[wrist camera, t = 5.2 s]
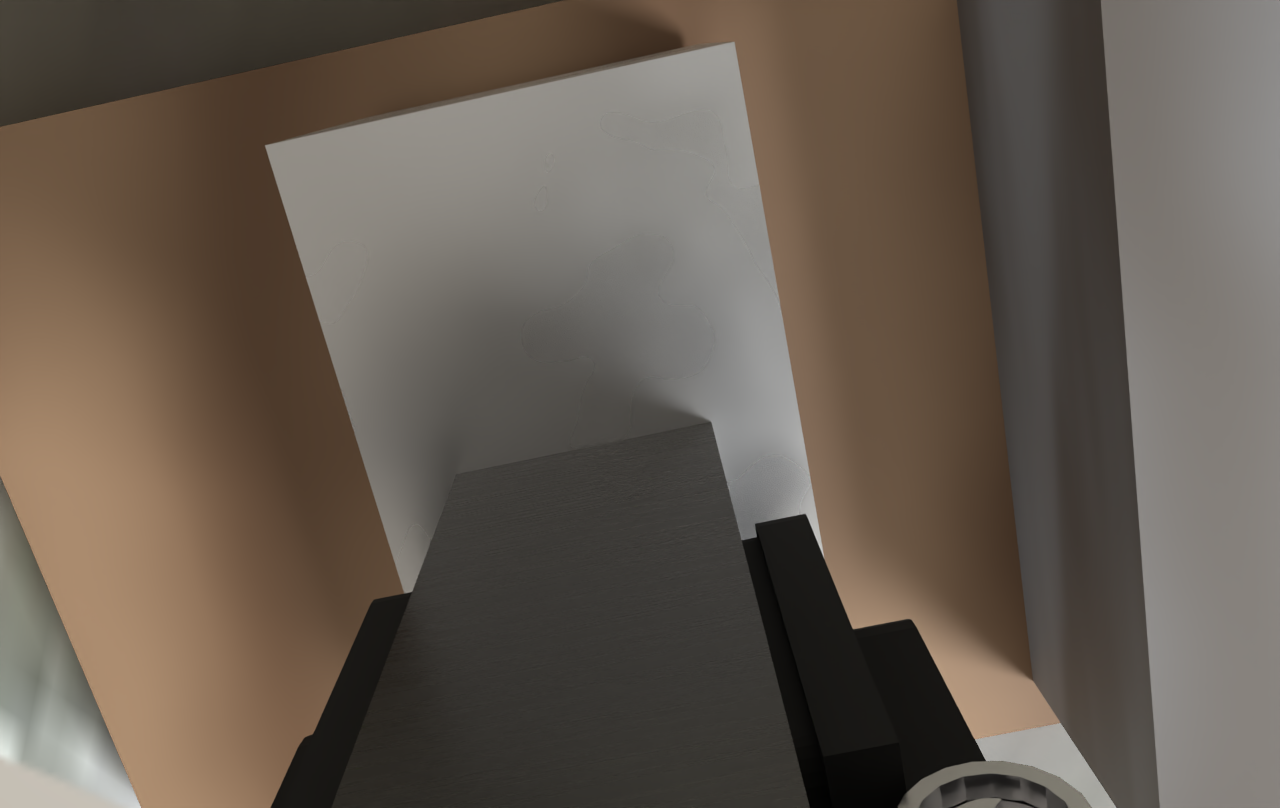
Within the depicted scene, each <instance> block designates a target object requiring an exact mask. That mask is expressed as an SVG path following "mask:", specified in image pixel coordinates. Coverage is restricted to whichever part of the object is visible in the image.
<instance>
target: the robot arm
mask: <svg viewBox="0 0 1280 808" xmlns="http://www.w3.org/2000/svg"><path fill="white" fill-rule="evenodd" d="M755 530H756V536H757V537H755V538H750V539H745V540H742V544H743V548H744V552H745V556H746V560H747V563H748V567H749V571H750V575H751V579H752V583H753V587H754V591H755V595H756V599H757V603H758V607H759V610H760V614H761V618H762V622H763V626H764V630H765V634H766V638H767V642H768V646H769V650H770V654H771V657H772V661H773V665H774V669H775V673H776V677H777V681H778V685H779V689H780V693H781V697H782V701H783V704H784V708H785V712H786V716H787V720H788V724H789V728H790V732H791V736H792V740H793V744H794V748H795V751H796V755H797V759H798V763H799V767H800V771H801V775H802V779H803V783H804V787H805V791H806V794H807V798H808V802H809V806H810V808H1092V807H1091V806H1090V804H1089V803H1088V802H1087V800H1086V799H1085V797H1084V796H1083V795H1082V793H1080V792H1079V791H1078V790H1076V789H1075V788H1073V787H1072V786H1071V785H1069V784H1068V783H1067V782H1065V781H1064V780H1063V779H1061V778H1060V777H1057V776H1055V775H1053V774H1050V773H1048V772H1045V771H1043V770H1040V769H1038V768H1035V767H1033V766H1028V765H1022V764H1016V763H1011V762H1005V761H986V760H985V758H984V756H983V755H982V753H981V751H980V749H979V747H978V745H977V743H976V741H975V739H974V737H973V735H972V733H971V731H970V729H969V727H968V726H967V724H966V722H965V720H964V718H963V716H962V714H961V712H960V710H959V708H958V706H957V704H956V702H955V700H954V698H953V697H952V695H951V693H950V691H949V689H948V687H947V685H946V683H945V681H944V679H943V677H942V675H941V673H940V671H939V670H938V668H937V666H936V664H935V662H934V660H933V658H932V656H931V654H930V652H929V650H928V648H927V646H926V644H925V642H924V641H923V639H922V637H921V635H920V633H919V631H918V629H917V627H916V626H915V624H914V622H913V621H912V620H911V619H904V620H899V621H894V622H889V623H884V624H878V625H873V626H868V627H863V628H858V629H853V628H852V626H851V623H850V621H849V618H848V616H847V613H846V611H845V609H844V606H843V604H842V601H841V599H840V596H839V594H838V591H837V589H836V586H835V584H834V581H833V579H832V576H831V574H830V572H829V569H828V567H827V564H826V562H825V559H824V557H823V554H822V552H821V549H820V547H819V544H818V542H817V540H816V537H815V535H814V532H813V530H812V527H811V525H810V522H809V520H808V517H807V515H806V514H801V515H796V516H791V517H786V518H781V519H776V520H771V521H766V522H761V523H756V524H755ZM411 594H412V592H409V593H404V594H399V595H394V596H389V597H384V598H379V599H374V600H373V601H372V603H371V604H370V606H369V609H368V611H367V613H366V615H365V618H364V620H363V622H362V625H361V627H360V629H359V631H358V634H357V636H356V638H355V640H354V643H353V645H352V647H351V649H350V652H349V654H348V656H347V658H346V661H345V663H344V665H343V668H342V670H341V672H340V674H339V677H338V679H337V681H336V683H335V686H334V688H333V690H332V692H331V695H330V697H329V699H328V702H327V704H326V706H325V708H324V711H323V713H322V715H321V717H320V720H319V722H318V724H317V726H316V729H315V731H314V733H313V734H312V735H309V736H307V737H305V738H304V739H303V740H302V742H301V743H300V745H299V746H298V748H297V751H296V753H295V755H294V757H293V759H292V762H291V764H290V766H289V768H288V770H287V773H286V775H285V777H284V779H283V781H282V784H281V786H280V788H279V790H278V792H277V794H276V797H275V799H274V801H273V803H272V805H271V808H331V807H332V804H333V801H334V799H335V796H336V793H337V791H338V788H339V785H340V783H341V780H342V777H343V775H344V772H345V769H346V767H347V764H348V761H349V759H350V756H351V753H352V751H353V748H354V746H355V743H356V740H357V738H358V735H359V732H360V730H361V727H362V724H363V722H364V719H365V716H366V714H367V711H368V708H369V706H370V703H371V700H372V698H373V695H374V692H375V690H376V687H377V684H378V682H379V679H380V676H381V674H382V671H383V668H384V666H385V663H386V660H387V658H388V655H389V652H390V650H391V647H392V644H393V642H394V639H395V636H396V634H397V631H398V628H399V626H400V623H401V620H402V618H403V615H404V612H405V610H406V607H407V604H408V602H409V599H410V596H411Z"/></svg>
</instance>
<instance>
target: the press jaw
mask: <svg viewBox="0 0 1280 808" xmlns="http://www.w3.org/2000/svg"><path fill="white" fill-rule="evenodd" d="M265 147H266V151H267V154H268V157H269V160H270V163H271V167H272V170H273V173H274V176H275V180H276V183H277V186H278V189H279V192H280V196H281V199H282V202H283V205H284V208H285V212H286V215H287V218H288V221H289V225H290V228H291V231H292V234H293V237H294V241H295V244H296V247H297V250H298V253H299V257H300V260H301V263H302V266H303V270H304V273H305V276H306V279H307V282H308V286H309V289H310V292H311V295H312V298H313V302H314V305H315V308H316V311H317V315H318V318H319V321H320V324H321V327H322V331H323V334H324V337H325V340H326V343H327V347H328V350H329V353H330V356H331V360H332V363H333V366H334V369H335V372H336V376H337V379H338V382H339V385H340V388H341V392H342V395H343V398H344V401H345V404H346V408H347V411H348V414H349V417H350V421H351V424H352V427H353V430H354V433H355V437H356V440H357V443H358V446H359V449H360V453H361V456H362V459H363V462H364V466H365V469H366V472H367V475H368V478H369V482H370V485H371V488H372V491H373V494H374V498H375V501H376V504H377V507H378V511H379V514H380V517H381V520H382V523H383V527H384V530H385V533H386V536H387V539H388V543H389V546H390V549H391V552H392V556H393V559H394V562H395V565H396V568H397V572H398V575H399V578H400V581H401V584H402V588H403V591H404V593H409V592H412V594H411V596H410V599H409V602H408V604H407V607H406V610H405V612H404V615H403V618H402V620H401V623H400V626H399V628H398V631H397V634H396V636H395V639H394V642H393V644H392V647H391V650H390V652H389V655H388V658H387V660H386V663H385V666H384V668H383V671H382V674H381V676H380V679H379V682H378V684H377V687H376V690H375V692H374V695H373V698H372V700H371V703H370V706H369V708H368V711H367V714H366V716H365V719H364V722H363V724H362V727H361V730H360V732H359V735H358V738H357V740H356V743H355V746H354V748H353V751H352V753H351V756H350V759H349V761H348V764H347V767H346V769H345V772H344V775H343V777H342V780H341V783H340V785H339V788H338V791H337V793H336V796H335V799H334V801H333V804H332V807H331V808H810V806H809V802H808V798H807V794H806V791H805V787H804V783H803V779H802V775H801V771H800V767H799V763H798V759H797V755H796V751H795V748H794V744H793V740H792V736H791V732H790V728H789V724H788V720H787V716H786V712H785V708H784V704H783V701H782V697H781V693H780V689H779V685H778V681H777V677H776V673H775V669H774V665H773V661H772V657H771V654H770V650H769V646H768V642H767V638H766V634H765V630H764V626H763V622H762V618H761V614H760V610H759V607H758V603H757V599H756V595H755V591H754V587H753V583H752V579H751V575H750V571H749V567H748V563H747V560H746V556H745V552H744V548H743V544H742V540H745V539H750V538H755V537H757V536H756V530H755V524H756V523H761V522H766V521H771V520H776V519H781V518H786V517H791V516H796V515H801V514H806V515H807V517H808V520H809V522H810V525H811V527H812V530H813V532H814V535H815V537H816V540H817V542H818V544H819V547H820V549H821V552H822V554H823V557H824V553H823V547H822V542H821V536H820V530H819V524H818V519H817V513H816V507H815V502H814V496H813V490H812V484H811V479H810V473H809V467H808V461H807V456H806V450H805V444H804V438H803V433H802V427H801V421H800V415H799V410H798V404H797V398H796V392H795V387H794V381H793V375H792V369H791V364H790V358H789V352H788V346H787V341H786V335H785V329H784V323H783V318H782V312H781V306H780V301H779V295H778V289H777V283H776V278H775V272H774V266H773V260H772V255H771V249H770V243H769V237H768V232H767V226H766V220H765V214H764V209H763V203H762V197H761V191H760V186H759V180H758V174H757V168H756V163H755V157H754V151H753V145H752V140H751V134H750V128H749V122H748V117H747V111H746V105H745V100H744V94H743V88H742V82H741V77H740V71H739V65H738V59H737V54H736V48H735V42H720V43H704V44H696V45H691V46H687V47H682V48H678V49H673V50H669V51H664V52H660V53H655V54H651V55H646V56H642V57H637V58H633V59H628V60H623V61H619V62H614V63H610V64H605V65H601V66H596V67H592V68H587V69H583V70H578V71H574V72H569V73H565V74H560V75H556V76H551V77H547V78H542V79H538V80H533V81H529V82H524V83H520V84H515V85H511V86H506V87H501V88H497V89H492V90H488V91H483V92H479V93H474V94H470V95H465V96H461V97H456V98H452V99H447V100H443V101H438V102H434V103H429V104H425V105H420V106H416V107H411V108H407V109H402V110H398V111H393V112H389V113H384V114H379V115H375V116H370V117H366V118H363V119H359V120H355V121H352V122H348V123H345V124H341V125H337V126H334V127H330V128H326V129H323V130H319V131H316V132H312V133H308V134H305V135H301V136H297V137H294V138H290V139H287V140H283V141H279V142H276V143H272V144H268V145H265Z"/></svg>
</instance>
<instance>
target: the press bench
mask: <svg viewBox="0 0 1280 808" xmlns="http://www.w3.org/2000/svg"><path fill="white" fill-rule="evenodd" d="M720 42H735V48H736V54H737V59H738V65H739V71H740V77H741V82H742V88H743V94H744V100H745V105H746V111H747V117H748V122H749V128H750V134H751V140H752V145H753V151H754V157H755V163H756V168H757V174H758V180H759V186H760V191H761V197H762V203H763V209H764V214H765V220H766V226H767V232H768V237H769V243H770V249H771V255H772V260H773V266H774V272H775V278H776V283H777V289H778V295H779V301H780V306H781V312H782V318H783V323H784V329H785V335H786V341H787V346H788V352H789V358H790V364H791V369H792V375H793V381H794V387H795V392H796V398H797V404H798V410H799V415H800V421H801V427H802V433H803V438H804V444H805V450H806V456H807V461H808V467H809V473H810V479H811V484H812V490H813V496H814V502H815V507H816V513H817V519H818V524H819V530H820V536H821V542H822V547H823V553H824V559H825V562H826V564H827V567H828V569H829V572H830V574H831V576H832V579H833V581H834V584H835V586H836V589H837V591H838V594H839V596H840V599H841V601H842V604H843V606H844V609H845V611H846V613H847V616H848V618H849V621H850V623H851V626H852V628H853V629H858V628H863V627H868V626H873V625H878V624H884V623H889V622H894V621H899V620H904V619H911V620H912V621H913V622H914V624H915V626H916V627H917V629H918V631H919V633H920V635H921V637H922V639H923V641H924V642H925V644H926V646H927V648H928V650H929V652H930V654H931V656H932V658H933V660H934V662H935V664H936V666H937V668H938V670H939V671H940V673H941V675H942V677H943V679H944V681H945V683H946V685H947V687H948V689H949V691H950V693H951V695H952V697H953V698H954V700H955V702H956V704H957V706H958V708H959V710H960V712H961V714H962V716H963V718H964V720H965V722H966V724H967V726H968V727H969V729H970V731H971V733H972V735H973V737H974V739H979V738H984V737H989V736H994V735H1000V734H1005V733H1010V732H1015V731H1021V730H1026V729H1031V728H1036V727H1042V726H1047V725H1052V724H1057V723H1061V724H1062V725H1063V727H1064V729H1065V730H1066V732H1067V733H1068V735H1069V736H1070V738H1071V739H1072V741H1073V742H1074V744H1075V745H1076V747H1077V748H1078V750H1079V751H1080V753H1081V754H1082V756H1083V757H1084V759H1085V760H1086V762H1087V763H1088V765H1089V766H1090V768H1091V769H1092V771H1093V772H1094V774H1095V776H1096V777H1097V779H1098V780H1099V782H1100V783H1101V785H1102V786H1103V788H1104V789H1105V791H1106V792H1107V794H1108V795H1109V797H1110V798H1111V800H1112V801H1113V803H1114V804H1115V806H1116V807H1117V808H1280V0H563V1H559V2H554V3H550V4H545V5H541V6H536V7H532V8H527V9H523V10H519V11H514V12H510V13H505V14H501V15H496V16H492V17H487V18H483V19H478V20H474V21H469V22H465V23H461V24H456V25H452V26H447V27H443V28H438V29H434V30H429V31H425V32H420V33H416V34H412V35H407V36H403V37H398V38H394V39H389V40H385V41H380V42H376V43H371V44H367V45H363V46H358V47H354V48H349V49H345V50H340V51H336V52H331V53H327V54H322V55H318V56H314V57H309V58H305V59H300V60H296V61H291V62H287V63H282V64H278V65H273V66H269V67H264V68H260V69H256V70H251V71H247V72H242V73H238V74H233V75H229V76H224V77H220V78H215V79H211V80H207V81H202V82H198V83H193V84H189V85H184V86H180V87H175V88H171V89H166V90H162V91H158V92H153V93H149V94H144V95H140V96H135V97H131V98H126V99H122V100H117V101H113V102H108V103H104V104H100V105H95V106H91V107H86V108H82V109H77V110H73V111H68V112H64V113H59V114H55V115H51V116H46V117H42V118H37V119H33V120H28V121H24V122H19V123H15V124H10V125H6V126H2V127H0V476H1V479H2V481H3V483H4V486H5V488H6V490H7V493H8V495H9V497H10V500H11V502H12V504H13V507H14V509H15V511H16V514H17V516H18V519H19V521H20V523H21V526H22V528H23V530H24V533H25V535H26V537H27V540H28V542H29V544H30V547H31V549H32V551H33V554H34V556H35V559H36V561H37V563H38V566H39V568H40V570H41V573H42V575H43V577H44V580H45V582H46V584H47V587H48V589H49V591H50V594H51V596H52V599H53V601H54V603H55V606H56V608H57V610H58V613H59V615H60V617H61V620H62V622H63V624H64V627H65V629H66V631H67V634H68V636H69V639H70V641H71V643H72V646H73V648H74V650H75V653H76V655H77V657H78V660H79V662H80V664H81V667H82V669H83V671H84V674H85V676H86V679H87V681H88V683H89V686H90V688H91V690H92V693H93V695H94V697H95V700H96V702H97V704H98V707H99V709H100V711H101V714H102V716H103V719H104V721H105V723H106V726H107V728H108V730H109V733H110V735H111V737H112V740H113V742H114V744H115V747H116V749H117V751H118V754H119V756H120V759H121V761H122V763H123V766H124V768H125V770H126V773H127V775H128V777H129V780H130V782H131V784H132V787H133V789H134V791H135V794H136V796H137V799H138V801H139V803H140V806H141V808H271V805H272V803H273V801H274V799H275V797H276V794H277V792H278V790H279V788H280V786H281V784H282V781H283V779H284V777H285V775H286V773H287V770H288V768H289V766H290V764H291V762H292V759H293V757H294V755H295V753H296V751H297V748H298V746H299V745H300V743H301V742H302V740H303V739H304V738H305V737H307V736H309V735H312V734H313V733H314V731H315V729H316V726H317V724H318V722H319V720H320V717H321V715H322V713H323V711H324V708H325V706H326V704H327V702H328V699H329V697H330V695H331V692H332V690H333V688H334V686H335V683H336V681H337V679H338V677H339V674H340V672H341V670H342V668H343V665H344V663H345V661H346V658H347V656H348V654H349V652H350V649H351V647H352V645H353V643H354V640H355V638H356V636H357V634H358V631H359V629H360V627H361V625H362V622H363V620H364V618H365V615H366V613H367V611H368V609H369V606H370V604H371V603H372V601H373V600H374V599H379V598H384V597H389V596H394V595H399V594H404V591H403V588H402V584H401V581H400V578H399V575H398V572H397V568H396V565H395V562H394V559H393V556H392V552H391V549H390V546H389V543H388V539H387V536H386V533H385V530H384V527H383V523H382V520H381V517H380V514H379V511H378V507H377V504H376V501H375V498H374V494H373V491H372V488H371V485H370V482H369V478H368V475H367V472H366V469H365V466H364V462H363V459H362V456H361V453H360V449H359V446H358V443H357V440H356V437H355V433H354V430H353V427H352V424H351V421H350V417H349V414H348V411H347V408H346V404H345V401H344V398H343V395H342V392H341V388H340V385H339V382H338V379H337V376H336V372H335V369H334V366H333V363H332V360H331V356H330V353H329V350H328V347H327V343H326V340H325V337H324V334H323V331H322V327H321V324H320V321H319V318H318V315H317V311H316V308H315V305H314V302H313V298H312V295H311V292H310V289H309V286H308V282H307V279H306V276H305V273H304V270H303V266H302V263H301V260H300V257H299V253H298V250H297V247H296V244H295V241H294V237H293V234H292V231H291V228H290V225H289V221H288V218H287V215H286V212H285V208H284V205H283V202H282V199H281V196H280V192H279V189H278V186H277V183H276V180H275V176H274V173H273V170H272V167H271V163H270V160H269V157H268V154H267V151H266V147H265V145H268V144H272V143H276V142H279V141H283V140H287V139H290V138H294V137H297V136H301V135H305V134H308V133H312V132H316V131H319V130H323V129H326V128H330V127H334V126H337V125H341V124H345V123H348V122H352V121H355V120H359V119H363V118H366V117H370V116H375V115H379V114H384V113H389V112H393V111H398V110H402V109H407V108H411V107H416V106H420V105H425V104H429V103H434V102H438V101H443V100H447V99H452V98H456V97H461V96H465V95H470V94H474V93H479V92H483V91H488V90H492V89H497V88H501V87H506V86H511V85H515V84H520V83H524V82H529V81H533V80H538V79H542V78H547V77H551V76H556V75H560V74H565V73H569V72H574V71H578V70H583V69H587V68H592V67H596V66H601V65H605V64H610V63H614V62H619V61H623V60H628V59H633V58H637V57H642V56H646V55H651V54H655V53H660V52H664V51H669V50H673V49H678V48H682V47H687V46H691V45H696V44H704V43H720Z"/></svg>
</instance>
